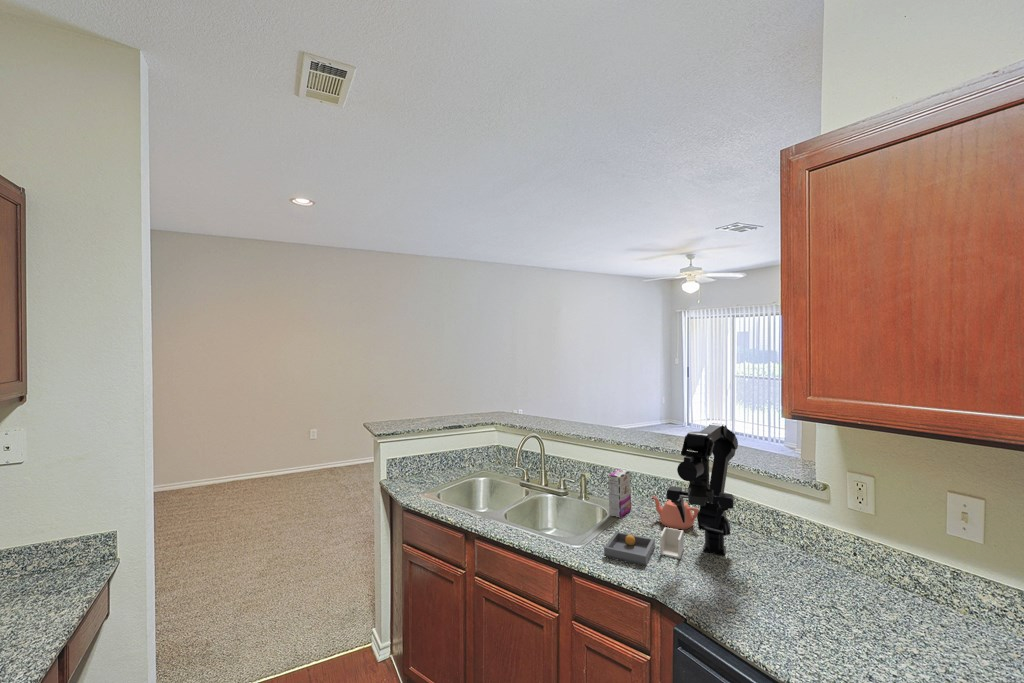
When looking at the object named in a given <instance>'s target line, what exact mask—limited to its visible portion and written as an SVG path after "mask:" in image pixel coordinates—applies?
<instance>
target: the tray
mask: <svg viewBox="0 0 1024 683" xmlns="http://www.w3.org/2000/svg"><path fill="white" fill-rule="evenodd" d="M628 535H632V536H633V537H634V538H635V543H634V545H628V544H627V543H626V541H625V538H626V536H628ZM655 549H656V539H655V538H650V537H646V536H640V535H636V534H630V533H626V532H625V533H624V532H620V531H615V532H614V534H613V535H612V536H611V538H610V539H609V541H608V542H607V543H606V545H604V547H603V551H604V552H603V553H604V555H603V557H604V556H606V557H610V558H609V559H611V558H614V559H613V560H615V559H618V560H617V561H620V560H622V561H621V562H624V561H626V562H625V563H629V562H631V563H630V564H633V563H635V564H634V565H637V564H639V565H638V566H642V565H643V566H642V567H647V565H648V563H649V561H650V560H651V557H652V555H653V553H654V551H655ZM606 557H605V558H606Z"/></svg>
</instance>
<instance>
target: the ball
mask: <svg viewBox="0 0 1024 683" xmlns="http://www.w3.org/2000/svg"><path fill="white" fill-rule="evenodd" d="M632 535H633V534H631V535H628V536H626V538H625V541H626V543H627V544H628V545H634V543H635V538H634V537H633V536H632Z"/></svg>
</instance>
